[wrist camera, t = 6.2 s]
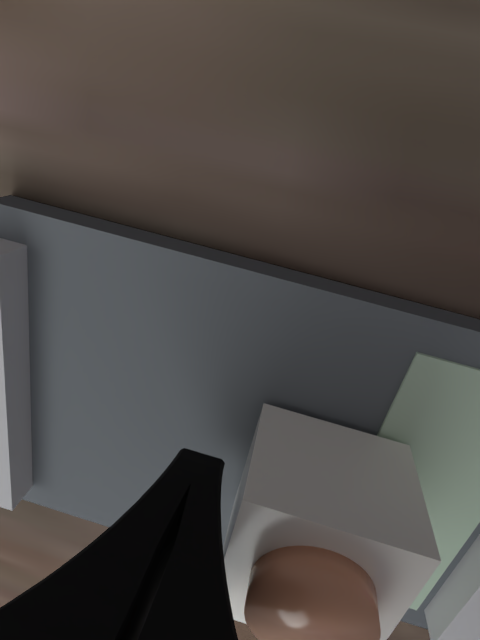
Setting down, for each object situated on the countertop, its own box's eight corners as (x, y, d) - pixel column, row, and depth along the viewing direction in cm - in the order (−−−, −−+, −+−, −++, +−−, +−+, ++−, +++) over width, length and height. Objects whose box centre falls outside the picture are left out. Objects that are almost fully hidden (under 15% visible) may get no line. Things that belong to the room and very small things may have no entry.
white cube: (409, 445, 12) (451, 600, 8) (358, 541, 14) (372, 702, 10) (263, 403, 12) (235, 531, 8) (233, 502, 14) (199, 644, 10)
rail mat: (626, 358, 11) (690, 407, 9) (438, 607, 16) (453, 672, 15) (10, 194, 12) (-48, 207, 10) (21, 475, 18) (-16, 518, 16)
